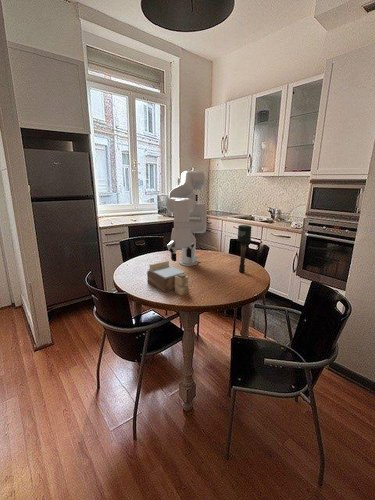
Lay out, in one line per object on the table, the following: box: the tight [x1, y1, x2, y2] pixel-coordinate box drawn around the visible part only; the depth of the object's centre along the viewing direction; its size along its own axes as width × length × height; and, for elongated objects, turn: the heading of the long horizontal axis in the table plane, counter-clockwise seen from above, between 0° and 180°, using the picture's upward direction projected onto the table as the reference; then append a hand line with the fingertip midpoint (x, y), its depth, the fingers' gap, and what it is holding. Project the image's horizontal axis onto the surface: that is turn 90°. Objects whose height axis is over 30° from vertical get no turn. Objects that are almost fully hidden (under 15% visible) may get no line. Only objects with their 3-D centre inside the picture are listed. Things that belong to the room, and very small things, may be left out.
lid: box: [147, 259, 185, 279], centre depth 139 cm, size 13×16×4 cm
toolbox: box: [146, 270, 187, 294], centre depth 140 cm, size 14×17×7 cm
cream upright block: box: [174, 273, 189, 296], centre depth 130 cm, size 5×5×10 cm
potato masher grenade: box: [236, 224, 253, 274], centre depth 157 cm, size 8×9×30 cm
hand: (181, 258), depth 126 cm, fingers open, 9 cm apart
